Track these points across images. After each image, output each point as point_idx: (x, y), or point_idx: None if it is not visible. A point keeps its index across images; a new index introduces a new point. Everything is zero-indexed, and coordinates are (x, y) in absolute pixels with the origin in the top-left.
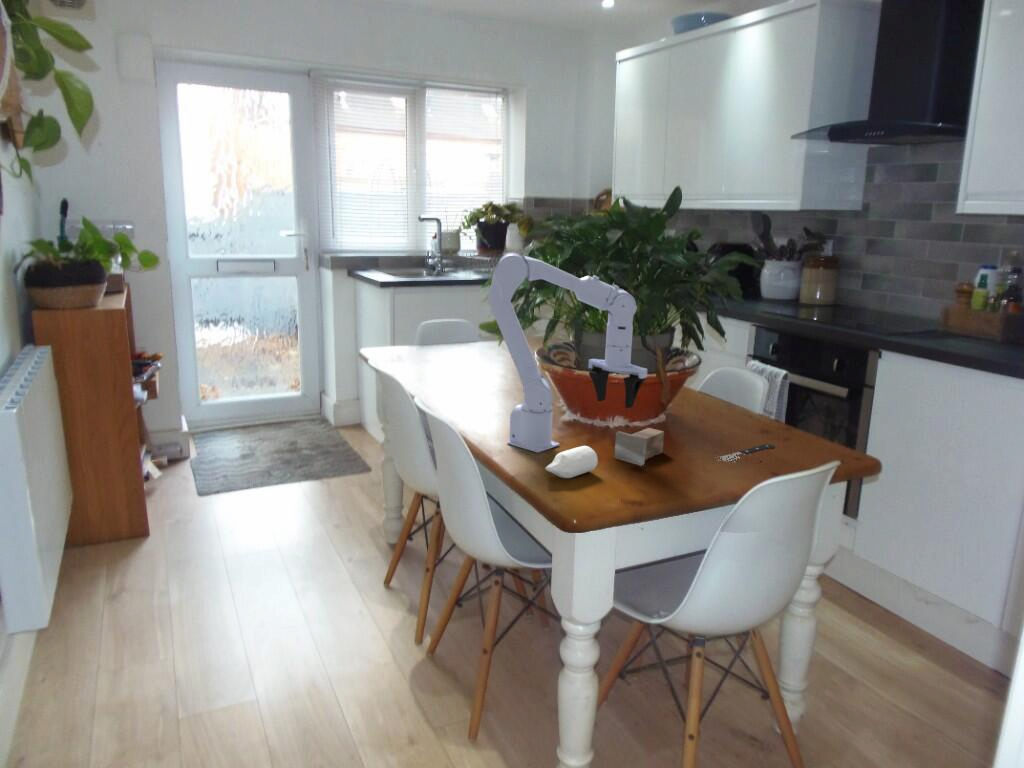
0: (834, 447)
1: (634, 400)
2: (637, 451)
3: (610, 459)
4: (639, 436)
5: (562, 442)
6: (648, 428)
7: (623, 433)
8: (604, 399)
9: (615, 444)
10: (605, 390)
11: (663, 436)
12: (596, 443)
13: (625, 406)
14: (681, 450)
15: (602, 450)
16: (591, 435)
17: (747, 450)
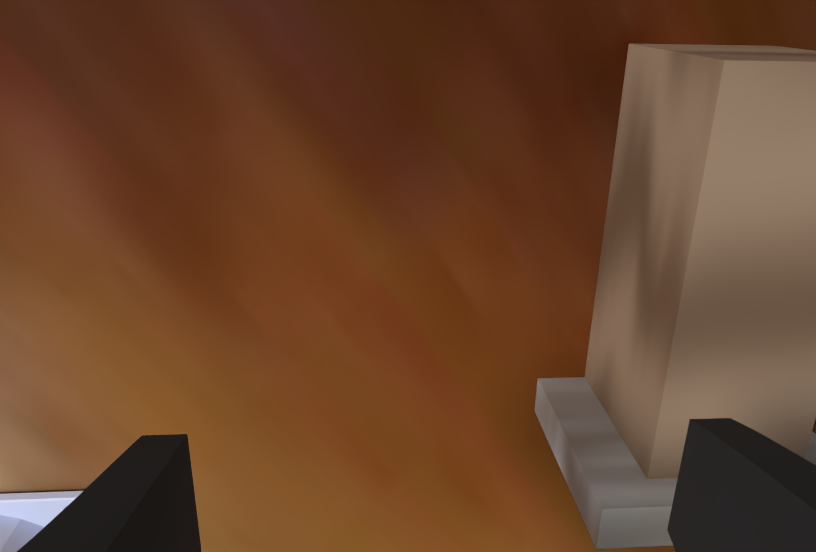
0: None
1: (808, 469)
2: None
3: (528, 448)
4: (749, 381)
5: (56, 419)
6: (730, 92)
7: (664, 530)
8: (186, 449)
9: (565, 475)
10: (130, 545)
11: None
12: (245, 255)
13: (673, 544)
14: None
15: (384, 350)
16: (56, 104)
17: None
